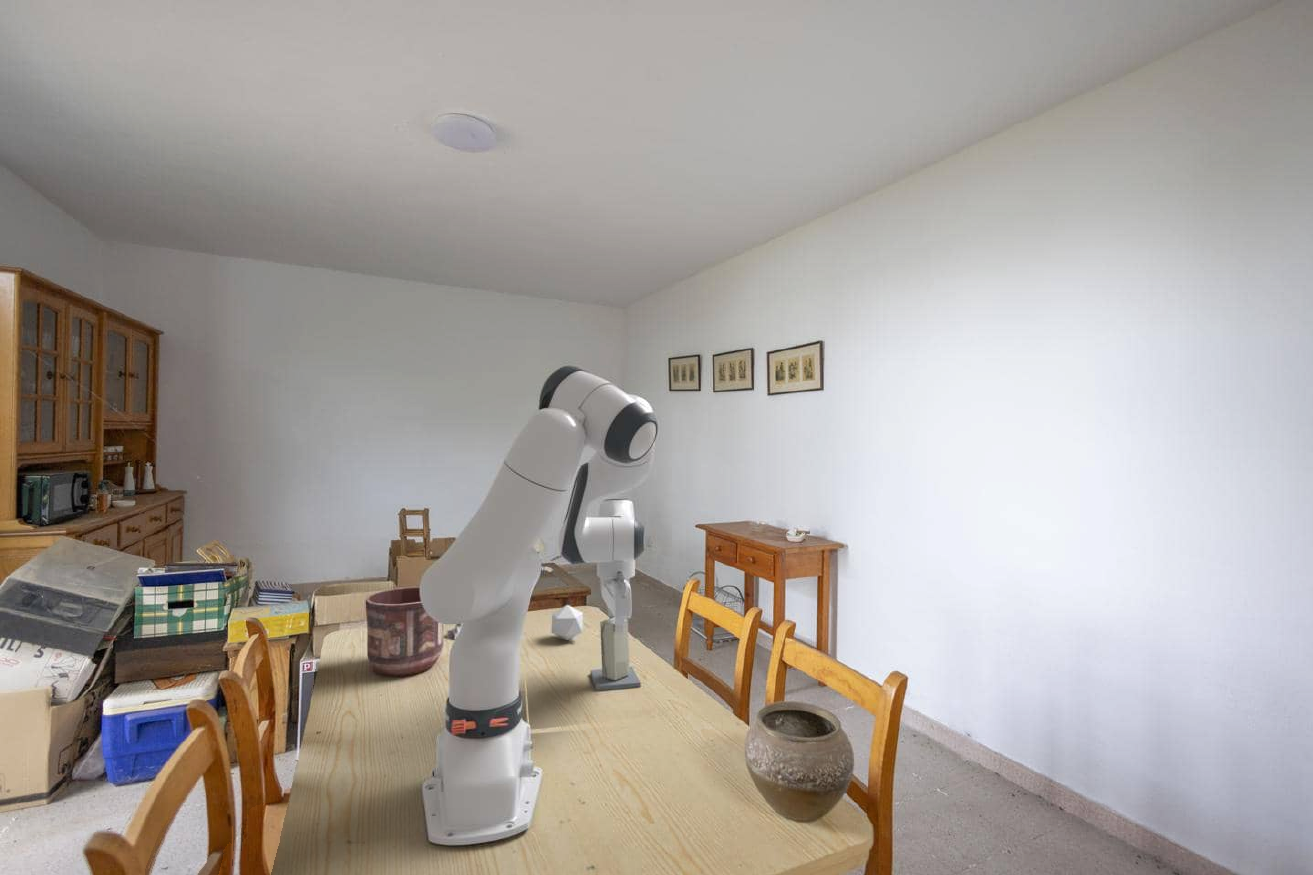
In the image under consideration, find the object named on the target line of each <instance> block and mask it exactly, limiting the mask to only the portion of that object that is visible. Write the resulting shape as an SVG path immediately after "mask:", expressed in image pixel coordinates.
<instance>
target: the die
mask: <svg viewBox="0 0 1313 875" xmlns="http://www.w3.org/2000/svg"><path fill="white" fill-rule="evenodd" d="M551 615H552V617H551V634H553V635H554V636H557V637H559V638H561V639H563V640H565V641H569V640H571V639H573V638H575V637H577V636H579V635H580V634H582V633H583V625H584V624H583V622H584V612H582V611H580V610H578V609H576V608H574V607H572V606H570V605H569V604H566V605H565V606H563V607H561V608H559V609H558V610H556V611H554V612H552V614H551Z"/></svg>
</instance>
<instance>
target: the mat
mask: <svg viewBox="0 0 1313 875" xmlns="http://www.w3.org/2000/svg"><path fill="white" fill-rule="evenodd" d="M590 676H591V679H592V683H593V685H594V688H595V690H596V692H599V691H600V692H601V691H610V690H611V691H612V690H622V689H623V690H624V689H634V688H641V681H640V680H641V679H639V677H638V675H637V673H636V672H635V670H634V668H633V667H632V666H630V674H628V675H626V676H624V677H622V678H620V679H617V680H612V679H609V678H606V677H603V676H602V668H599V669H590Z"/></svg>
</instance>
